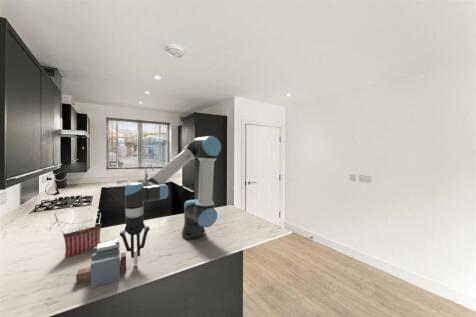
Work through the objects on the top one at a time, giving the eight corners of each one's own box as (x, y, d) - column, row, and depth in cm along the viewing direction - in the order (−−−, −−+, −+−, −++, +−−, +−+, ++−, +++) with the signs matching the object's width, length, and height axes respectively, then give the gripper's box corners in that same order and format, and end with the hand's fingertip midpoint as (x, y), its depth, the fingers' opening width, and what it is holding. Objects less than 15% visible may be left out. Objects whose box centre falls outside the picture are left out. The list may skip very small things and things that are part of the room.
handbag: (52, 260, 98) (50, 211, 97) (101, 244, 114) (100, 202, 113) (54, 265, 94) (53, 214, 92) (105, 248, 110) (104, 205, 109)
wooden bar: (126, 266, 93) (125, 252, 93) (126, 270, 90) (125, 255, 90) (78, 278, 84) (77, 263, 84) (76, 284, 81) (75, 267, 80)
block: (119, 261, 97) (119, 239, 97) (120, 279, 84) (119, 253, 83) (95, 267, 92) (94, 244, 91) (91, 288, 78) (90, 260, 78)
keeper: (118, 246, 92) (118, 237, 92) (118, 251, 88) (118, 241, 88) (97, 251, 88) (97, 241, 88) (96, 256, 84) (96, 246, 83)
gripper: (148, 211, 99) (149, 255, 101) (118, 215, 93) (120, 263, 94) (150, 215, 93) (151, 262, 94) (118, 220, 86) (120, 271, 87)
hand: (135, 263), depth 94 cm, fingers closed
